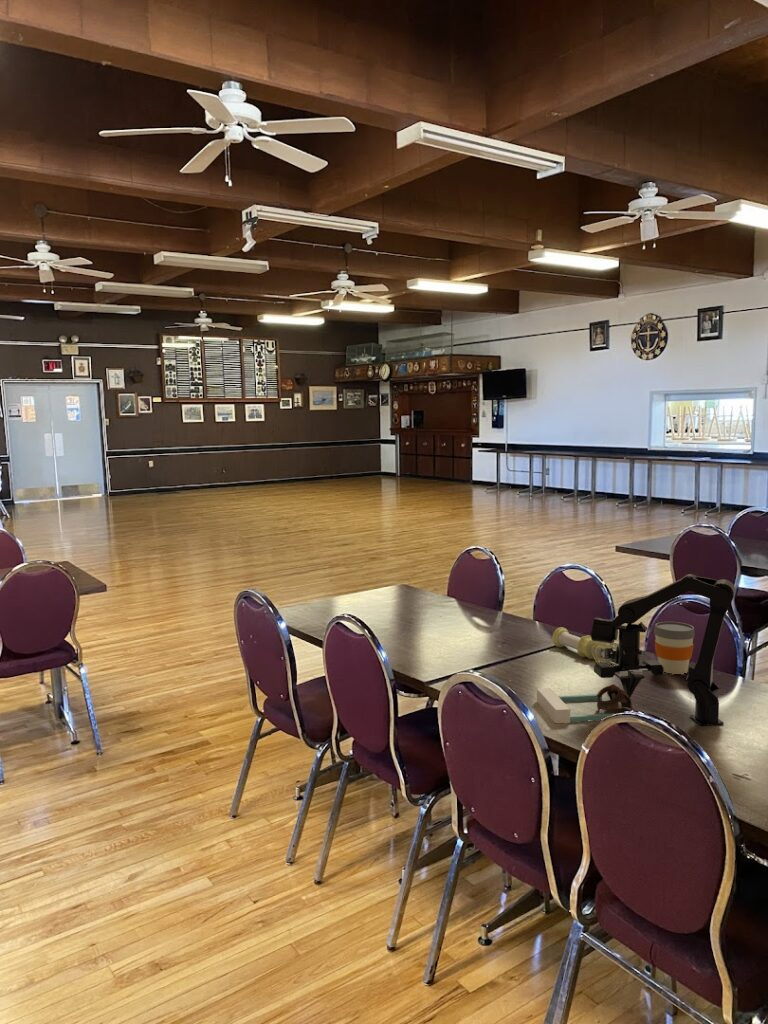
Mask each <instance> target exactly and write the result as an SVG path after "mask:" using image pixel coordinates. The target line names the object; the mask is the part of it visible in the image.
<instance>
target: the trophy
mask: <svg viewBox="0 0 768 1024" xmlns="http://www.w3.org/2000/svg"><path fill="white" fill-rule="evenodd" d="M551 637H552V639H551V640H552V643H553V645H554V646H555V647H557V648H563V647H569V648H571V649H573V650H577V652H576V653H577V654H578V655H579V656H580V657H581V658H582V657H583V658H588V659H590V660H591V659H593V660H595V663H604V662H608V663H609V664H610V665H611V664H612V666H614V665H615V666H618V664H616V663H615V662H611V659H605V654H604V653H605V648H613V651H615V650H616V649H617V646H619V643H617V642H613V643H606V642H598V641H592V639H591V634H590V635H583V636H581V637H579V636H577V635H574V634H572V633H571V634H570V632H569V630H568V629H567V628H566V627H562V626H560V627H557V628H556V629H555V630H554V631H553V633H552V636H551Z"/></svg>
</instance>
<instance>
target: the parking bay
mask: <svg viewBox="0 0 768 1024" xmlns="http://www.w3.org/2000/svg"><path fill="white" fill-rule="evenodd" d="M597 694H598V693H594V694H574V695H557V693H555V691H554V690H553V689H552V688H551V687H541V688H536V702H537V704H538V705H539V706H540V707H541V708H542V709H543V711H544V712H545V714H547V716H548V717H549V718H550V719H551V720H552V721H553V723H554V724H555V723H565V724H570V723H575V722H574V721H588V720H601V719H603V718H605V717H607V716H610V715H612V714H615V712H614V713H598V714H596V713H595V714H582V715H580V714H579V715H578V714H575V715H571V709H570V706H569V707H568V705H567V704H566V703H569V702H589V701H588V700H594V701H597V698H598V697H597ZM600 700H602V701H603V695H602V696H601V697H600ZM588 722H589V721H588Z"/></svg>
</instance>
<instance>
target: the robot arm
mask: <svg viewBox="0 0 768 1024" xmlns="http://www.w3.org/2000/svg"><path fill="white" fill-rule="evenodd" d="M688 592H692V593H695V594H697V595H698V596H699V595H700V596H701V597H703V598H708V599H709V615H708V620H707V624H706V627H705V631H704V635H703V639H702V642H701V646H700V647H701V648H700V650H699V651H700V652H699V656H698V659H697V661H696V662H694V661H691V662H690V663H689V666H688V672H687V673H688V674H687V676H686V679H685V680H684V681H685V682H687V689H688V691H689V692H690V693H691V694H693V696H694V700H695V707H694V710H695V711H694V713H695V714H690V715H689V717H690V719H692V720H693V721H694V722H696V723H698V724H699V725H700V726H717V725H718V726H719V725H720V726H721V725H724V721H722V720H721V719H719V714H720V713H719V712H720V701H719V696H720V693H721V688H720V687H719V686H718V685H717V684H716V683H715V682H714V681H713V677H714V676H713V674H714V658H715V654H716V651H717V646H718V643H719V638H720V635H721V632H722V626H723V623H724V619H725V617H726V614H727V612H728V609H729V608H730V606H731V604H732V602H733V600H734V596H735V595H736V586H735V585H734V584H733V582H731V580H729V579H723V578H721V579H718V580H717V579H714V578H709V577H705V576H704V577H703V576H698V575H695V574H692V573H688V574H686V575H684V576H683V577H681V578H680V579H678V580H675V581H674V582H671V583H670V584H667V585H665V586H663V587H662V588H660V589H658V590H655V591H654V592H652V593H649V594H648V595H645V596H643V595H642V596H640V597H639V596H638V597H636V598H633V599H628V600H626V601H624V602H623V603H622V604H621V606H619V607H618V610H617V615H616V616H615V617H614V618H613V619H607V618H601V617H595V618H593V623H592V629H591V631H590V636H591V639H592V641H598V642H606V643H607V644H609V643H614V641H618V644H619V646H616V647H617V649H615V650H614V649H613V648H605V653H604V654H605V659H611V663H614V662H615V663H614V664H616V665H618V666H614V665H611V664H609V663H608V662H604V663H602V662H600V663H597V662H595V664H594V666H593V672H594V673H595V674H596V675H597V676H598V677H599V678H602V679H610V678H614V677H617V678H618V679H619V681H620V683H621V686H622V690H623V691H624V692H626V693H627V694H628V696H629V698H630V699H631V698H632V695H633V694H634V692H635V690H636V689H637V688H636V687H637V686H638V685H639V684H640V682H641V681H642V680H644V679H645V676H644V675H643V672H650V674H652V675H653V676H664V674H665V673H664V667H663V666H662V665H661V664H660V663H658V660H655V659H652V660H651V659H650V660H645V659H644V660H643V661H642V662H641V664H640V658H641V657H640V655H642V650H641V649H640V647H641V646H640V645H641V633H646V632H647V630H648V629H649V628H648V626H646V625H645V624H644V623H643V622H642V621H640V623H636V622H637V621H639V620H640V619H642V618H643V617H644V616H645V615H646V614H648V613H649V612H650V611H652V610H653V609H655V608H657V607H659V606H662V605H663V604H665V603H667V602H670V601H671V600H674V599H676V598H678V597H680V596H682V595H684V594H686V593H688ZM625 624H626V625H625ZM613 650H614V651H613Z"/></svg>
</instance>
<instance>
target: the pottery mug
mask: <svg viewBox="0 0 768 1024" xmlns="http://www.w3.org/2000/svg"><path fill="white" fill-rule="evenodd" d="M596 694H597V697H598V698H597V700H596V701H597V702H596V707H597V710H598V711H599V710H602V711H607V710H613V709H616V710H620V706H621V708H627V709H630V711H631V710H633V711H634V707H633V704H632V701H631V700H632V699H631V697H630V698H629V696H628V694H627V693H626V692H624V689H621V688H620V687H619V686H617V685H616V684H610V685H607V686H605V687H603V688H601V689H600V690H599V691H598V692H597V693H596ZM605 694H607V696H608V697H609V700H603V699H602V700H600V697H601V696H602V697H603V695H605ZM619 703H620V705H619Z"/></svg>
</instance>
